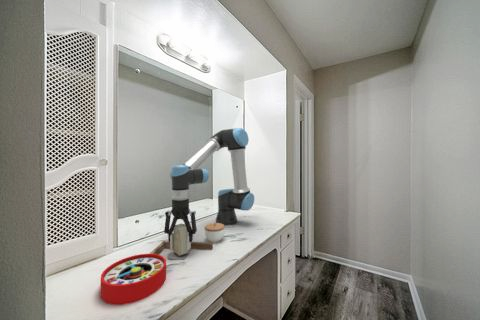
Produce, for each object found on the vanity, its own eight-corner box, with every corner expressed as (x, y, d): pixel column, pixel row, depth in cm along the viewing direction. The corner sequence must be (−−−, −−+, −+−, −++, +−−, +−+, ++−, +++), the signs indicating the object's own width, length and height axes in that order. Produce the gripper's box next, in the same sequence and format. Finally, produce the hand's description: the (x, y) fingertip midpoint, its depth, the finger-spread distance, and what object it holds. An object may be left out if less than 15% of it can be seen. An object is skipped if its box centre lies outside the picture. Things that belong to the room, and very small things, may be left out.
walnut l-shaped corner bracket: (163, 247, 95) (163, 241, 95) (212, 248, 93) (212, 242, 93) (145, 264, 79) (145, 257, 79) (204, 266, 77) (204, 259, 77)
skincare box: (173, 251, 88) (172, 225, 88) (182, 248, 91) (181, 223, 91) (179, 256, 83) (179, 228, 83) (188, 252, 86) (188, 226, 87)
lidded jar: (221, 245, 97) (221, 226, 97) (201, 243, 99) (201, 225, 99) (226, 237, 107) (226, 220, 108) (208, 235, 110) (208, 219, 110)
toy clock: (176, 266, 67) (110, 295, 53) (176, 282, 67) (110, 316, 53) (152, 248, 81) (94, 268, 66) (152, 262, 81) (94, 285, 66)
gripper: (155, 200, 84) (155, 251, 84) (199, 200, 83) (199, 253, 83) (163, 196, 92) (163, 244, 92) (204, 197, 90) (204, 245, 90)
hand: (180, 248), depth 87 cm, fingers closed on skincare box, 7 cm apart
